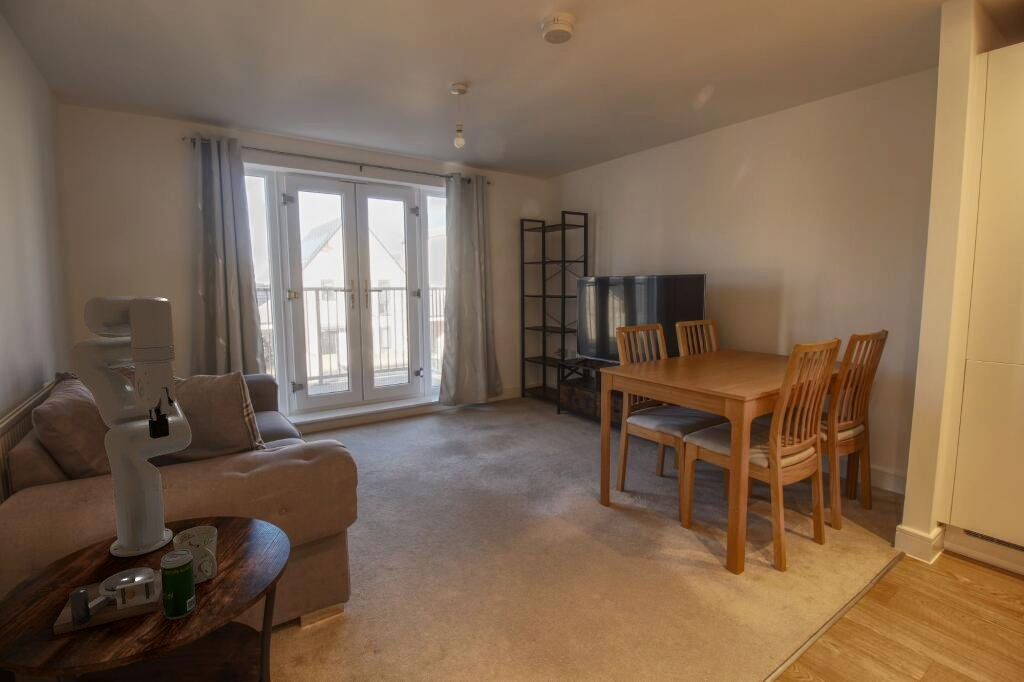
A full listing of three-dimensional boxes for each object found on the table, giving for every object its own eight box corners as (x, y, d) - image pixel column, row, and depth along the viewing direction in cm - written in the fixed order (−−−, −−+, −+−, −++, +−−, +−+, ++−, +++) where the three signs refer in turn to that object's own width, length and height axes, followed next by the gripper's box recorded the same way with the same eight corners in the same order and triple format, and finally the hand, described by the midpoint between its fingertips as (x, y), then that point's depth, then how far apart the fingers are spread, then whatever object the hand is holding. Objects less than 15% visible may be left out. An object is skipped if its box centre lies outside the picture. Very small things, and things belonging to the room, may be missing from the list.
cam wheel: (129, 575, 107) (127, 549, 106) (165, 580, 106) (163, 553, 105) (54, 623, 92) (51, 593, 91) (95, 628, 91) (92, 598, 90)
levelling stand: (76, 596, 103) (74, 567, 102) (168, 576, 111) (166, 549, 110) (53, 637, 91) (49, 605, 90) (157, 612, 98) (155, 582, 98)
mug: (207, 562, 116) (204, 522, 115) (238, 578, 110) (235, 536, 109) (168, 580, 109) (165, 538, 108) (199, 598, 103) (196, 554, 102)
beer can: (201, 602, 102) (198, 547, 100) (187, 620, 96) (183, 562, 95) (174, 604, 101) (170, 549, 100) (158, 621, 96) (153, 564, 94)
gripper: (121, 353, 108) (128, 434, 110) (144, 360, 99) (151, 448, 101) (161, 349, 114) (167, 426, 116) (186, 356, 105) (192, 439, 107)
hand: (159, 436), depth 108 cm, fingers closed
